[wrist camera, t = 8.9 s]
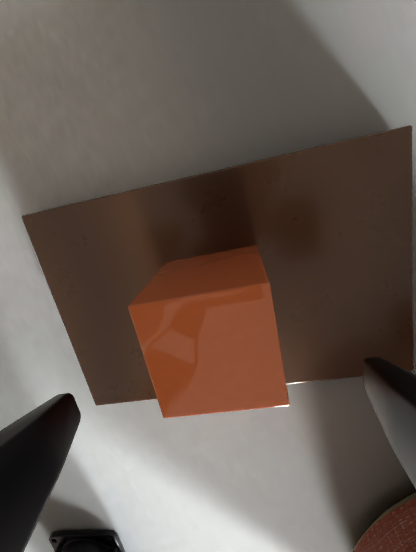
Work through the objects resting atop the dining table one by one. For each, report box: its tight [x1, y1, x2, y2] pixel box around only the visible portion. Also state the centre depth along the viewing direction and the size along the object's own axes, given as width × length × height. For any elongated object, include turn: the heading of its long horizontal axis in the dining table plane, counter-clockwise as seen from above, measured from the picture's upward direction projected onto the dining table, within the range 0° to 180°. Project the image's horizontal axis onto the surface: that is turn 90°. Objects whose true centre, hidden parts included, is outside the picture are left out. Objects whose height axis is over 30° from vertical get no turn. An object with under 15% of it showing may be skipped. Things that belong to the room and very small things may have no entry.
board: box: [22, 125, 414, 405], centre depth 17 cm, size 20×13×2 cm, turn 102°
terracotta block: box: [128, 245, 289, 418], centre depth 13 cm, size 5×5×6 cm
